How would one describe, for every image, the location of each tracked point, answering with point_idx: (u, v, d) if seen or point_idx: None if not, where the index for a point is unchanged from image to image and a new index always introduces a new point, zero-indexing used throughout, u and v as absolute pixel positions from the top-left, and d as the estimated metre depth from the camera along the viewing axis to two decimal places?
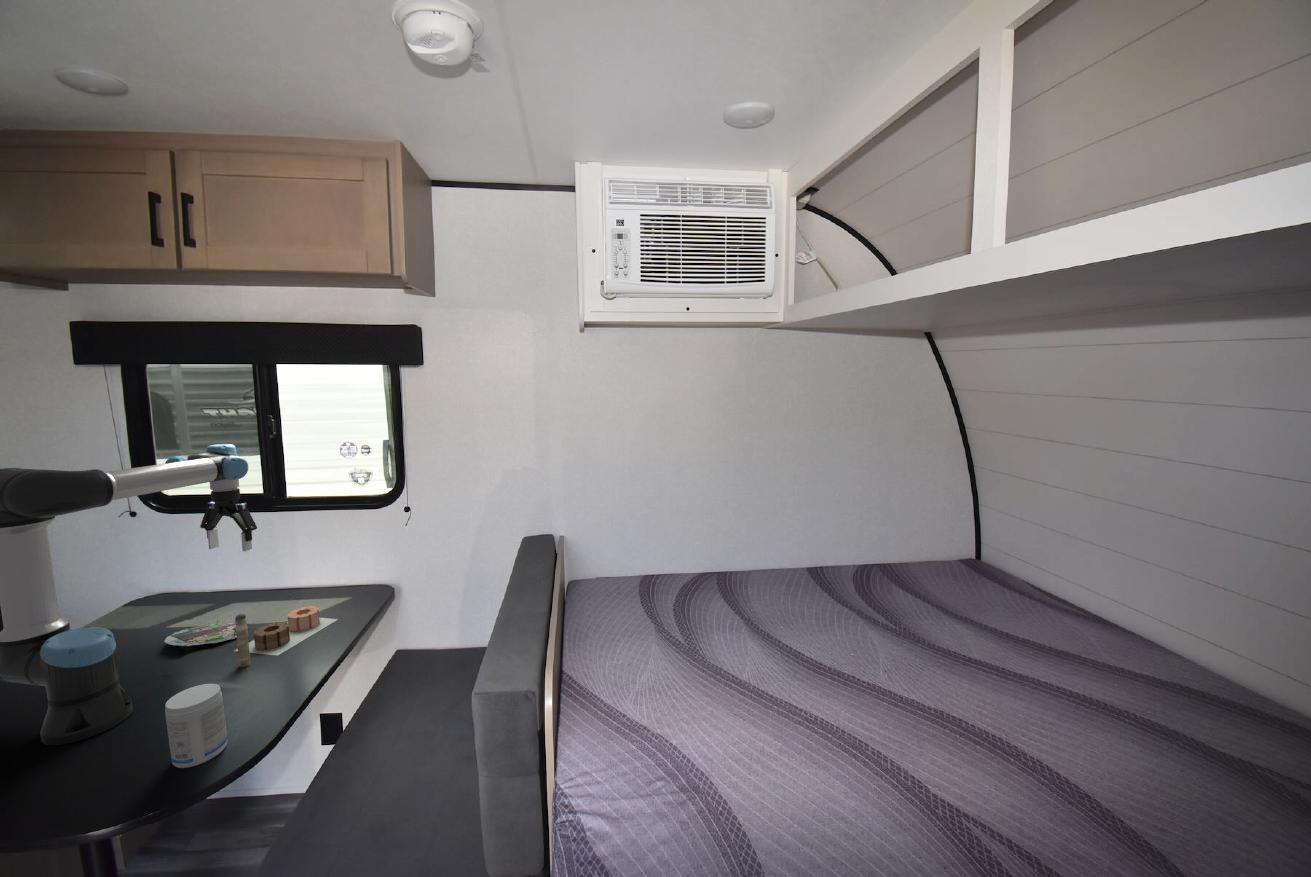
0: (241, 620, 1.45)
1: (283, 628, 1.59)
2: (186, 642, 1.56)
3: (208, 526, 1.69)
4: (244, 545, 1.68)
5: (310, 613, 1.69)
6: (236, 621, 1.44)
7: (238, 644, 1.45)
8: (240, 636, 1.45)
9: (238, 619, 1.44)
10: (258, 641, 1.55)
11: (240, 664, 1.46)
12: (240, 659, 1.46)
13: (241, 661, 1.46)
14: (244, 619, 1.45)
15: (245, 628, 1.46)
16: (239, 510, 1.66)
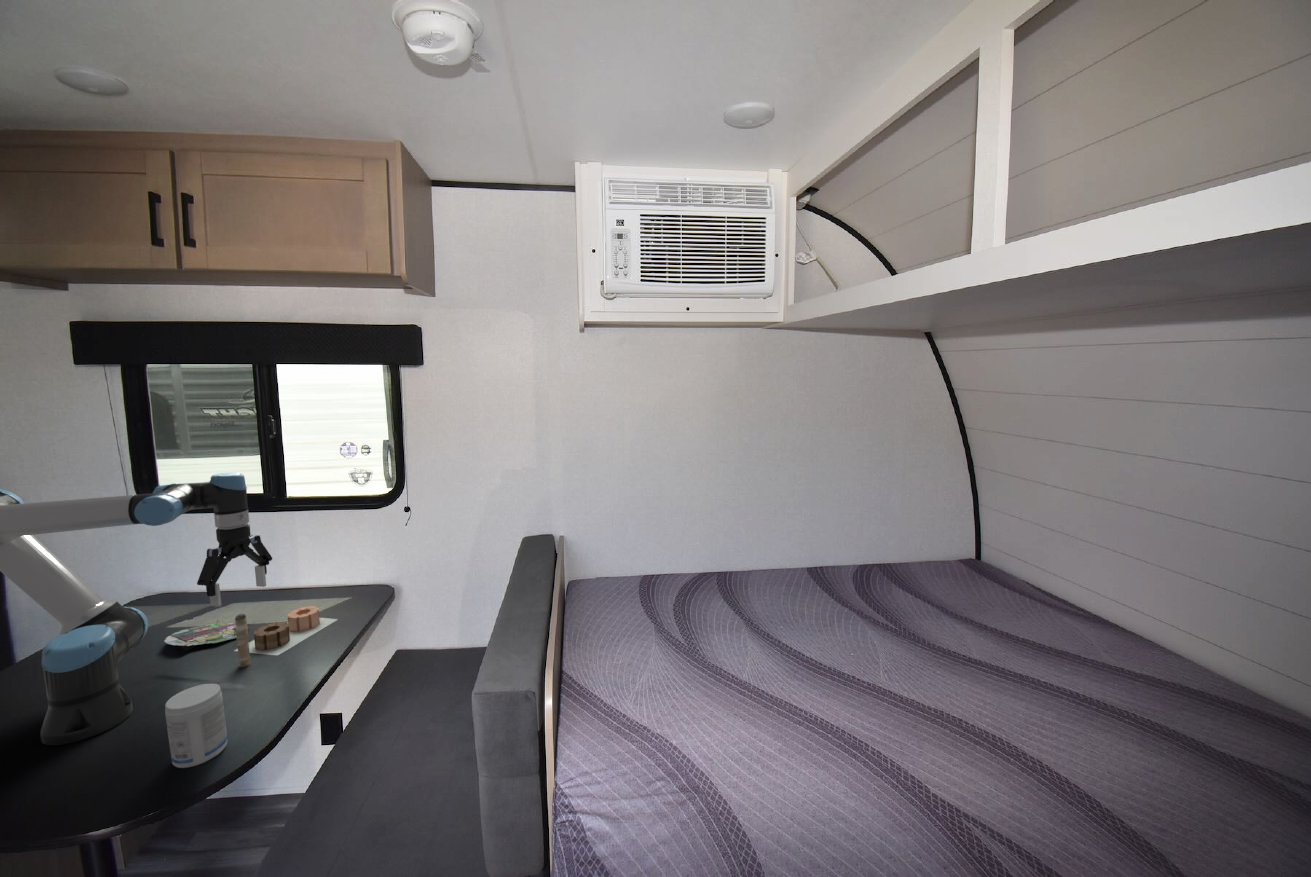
0: (241, 620, 1.45)
1: (283, 628, 1.59)
2: (186, 642, 1.56)
3: None
4: (210, 599, 1.38)
5: (310, 613, 1.69)
6: (236, 621, 1.44)
7: (238, 644, 1.45)
8: (240, 636, 1.45)
9: (238, 619, 1.44)
10: (258, 641, 1.55)
11: (240, 664, 1.46)
12: (240, 659, 1.46)
13: (241, 661, 1.46)
14: (244, 619, 1.45)
15: (245, 628, 1.46)
16: None
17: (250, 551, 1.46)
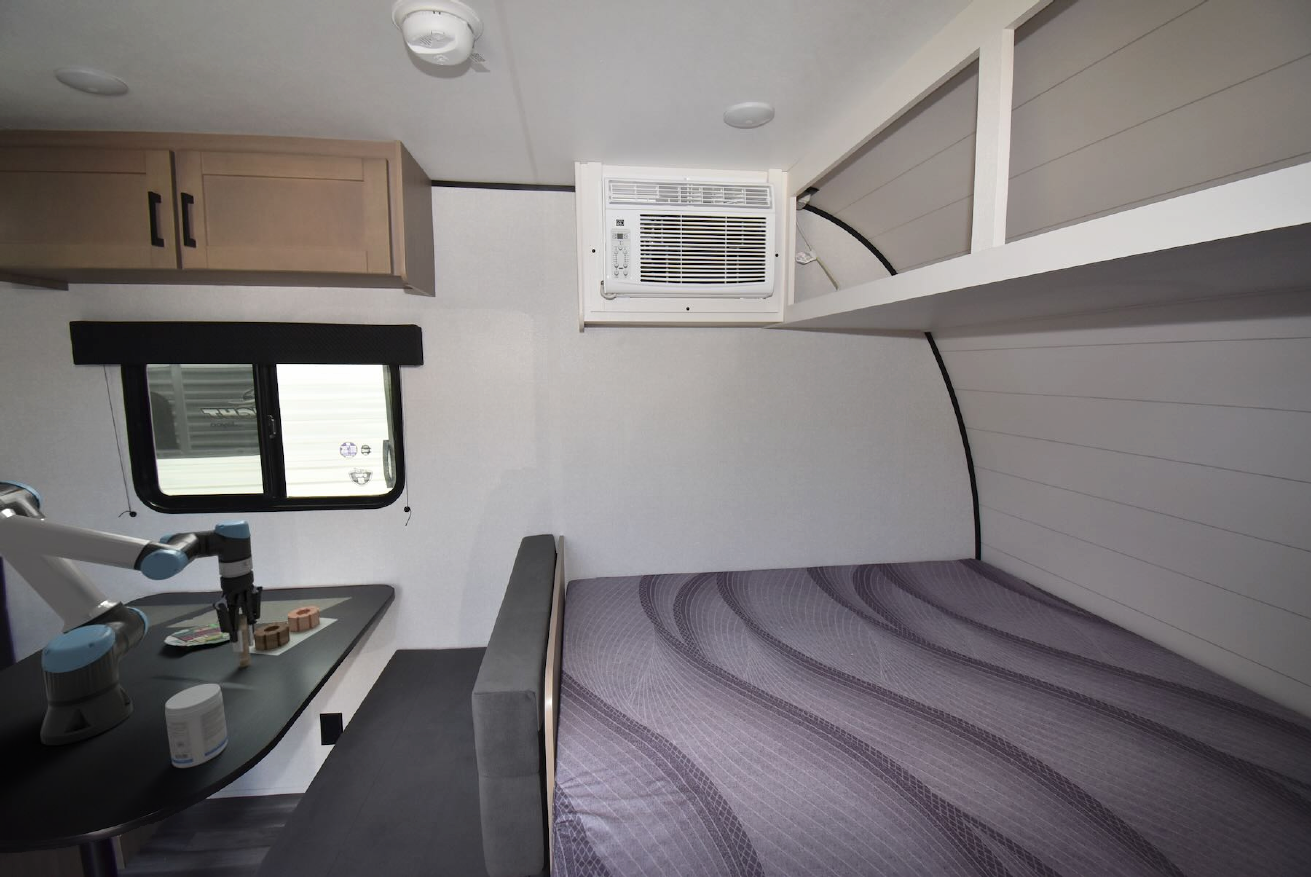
0: (241, 620, 1.45)
1: (283, 628, 1.59)
2: (186, 642, 1.56)
3: None
4: (233, 645, 1.45)
5: (310, 613, 1.69)
6: None
7: None
8: None
9: None
10: (258, 641, 1.55)
11: (240, 664, 1.46)
12: (240, 659, 1.46)
13: (241, 661, 1.46)
14: (244, 619, 1.45)
15: (245, 628, 1.46)
16: None
17: (249, 601, 1.46)
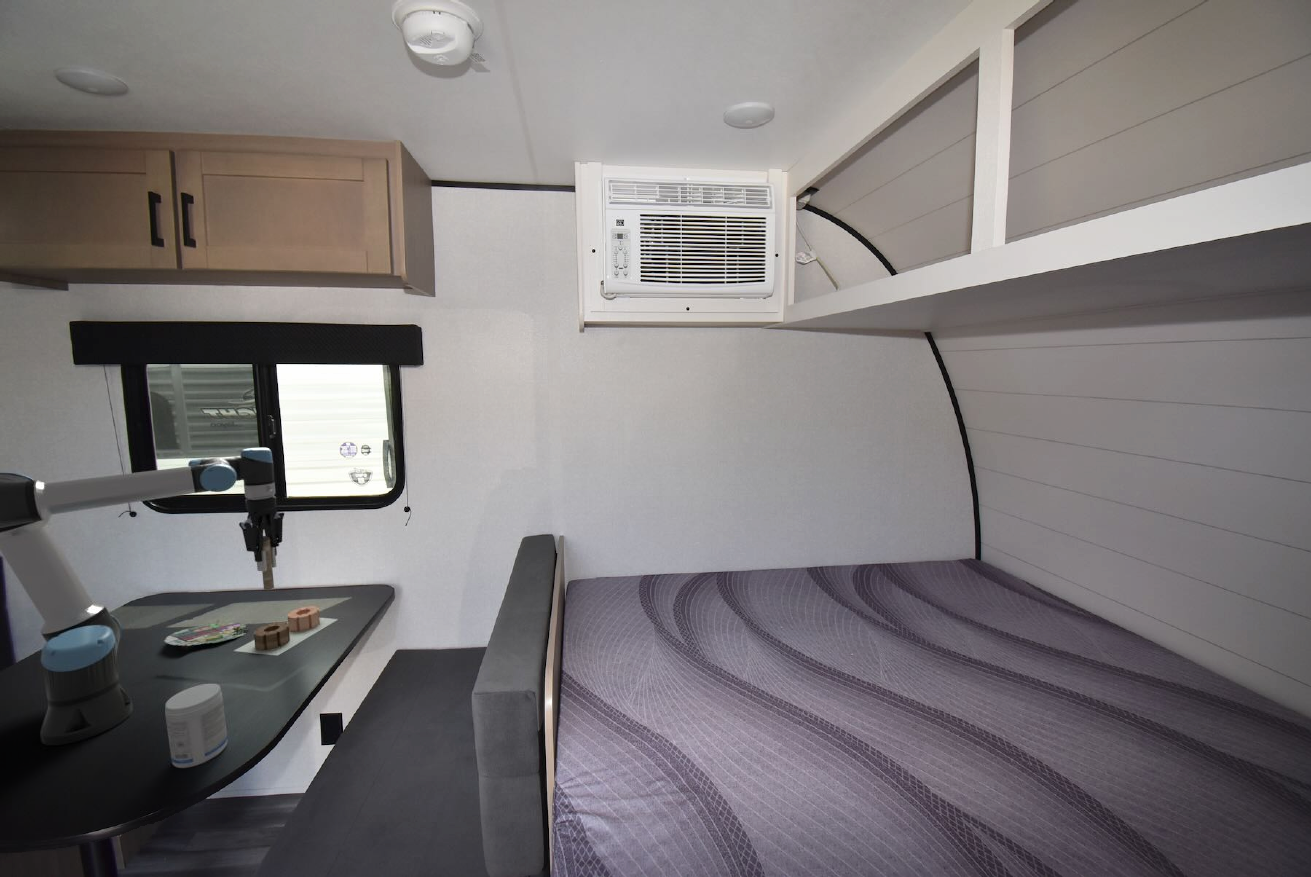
0: (265, 541, 1.55)
1: (283, 628, 1.59)
2: (186, 642, 1.56)
3: None
4: (257, 564, 1.54)
5: (310, 613, 1.69)
6: None
7: None
8: None
9: None
10: (258, 641, 1.55)
11: (264, 583, 1.56)
12: (264, 578, 1.56)
13: (265, 580, 1.56)
14: (268, 541, 1.55)
15: (269, 549, 1.56)
16: None
17: (272, 524, 1.56)
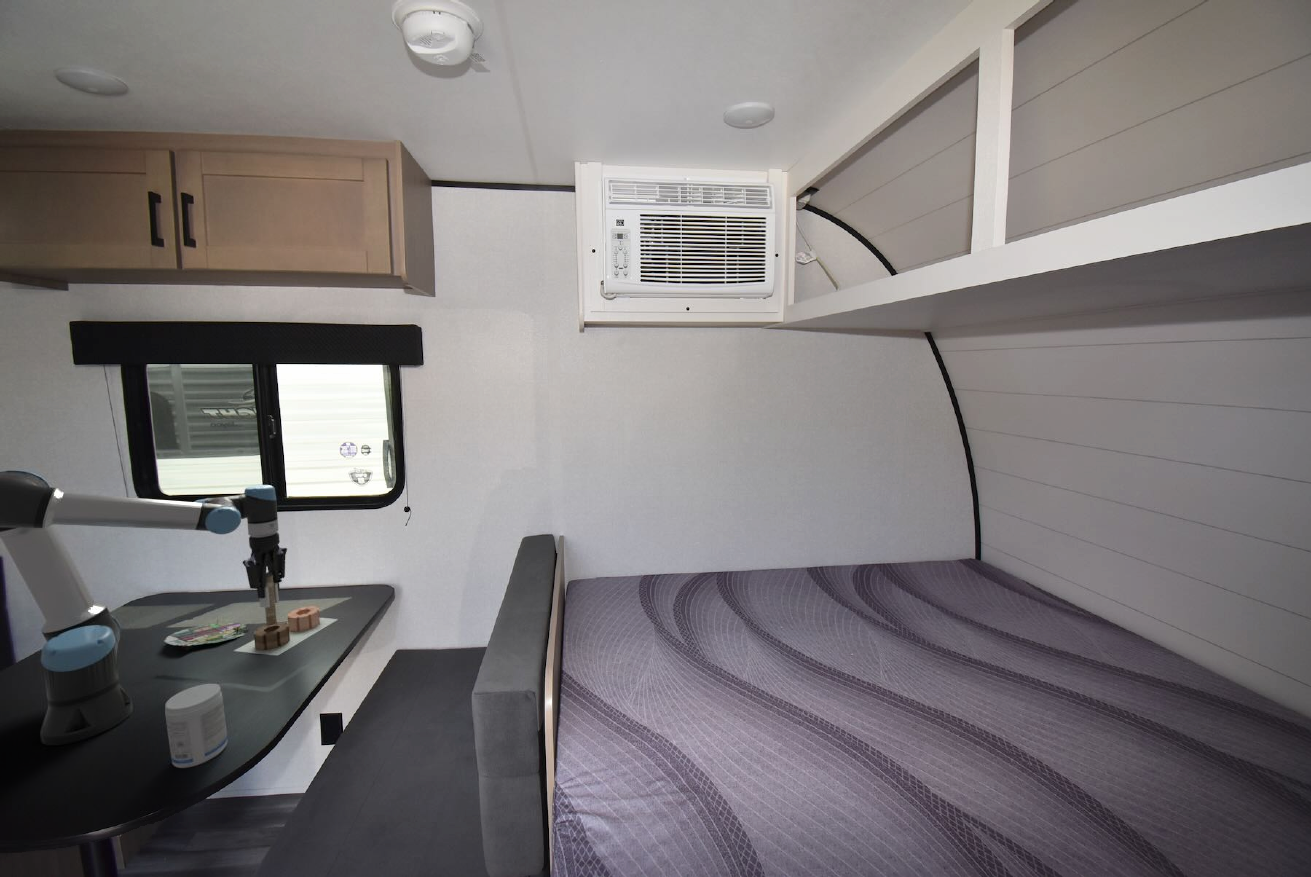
0: (268, 578, 1.56)
1: (283, 628, 1.59)
2: (186, 642, 1.56)
3: None
4: (260, 601, 1.56)
5: (310, 613, 1.69)
6: None
7: None
8: None
9: None
10: (258, 641, 1.55)
11: (267, 619, 1.57)
12: (267, 614, 1.57)
13: (268, 616, 1.57)
14: (271, 577, 1.57)
15: (272, 585, 1.57)
16: None
17: (275, 560, 1.58)
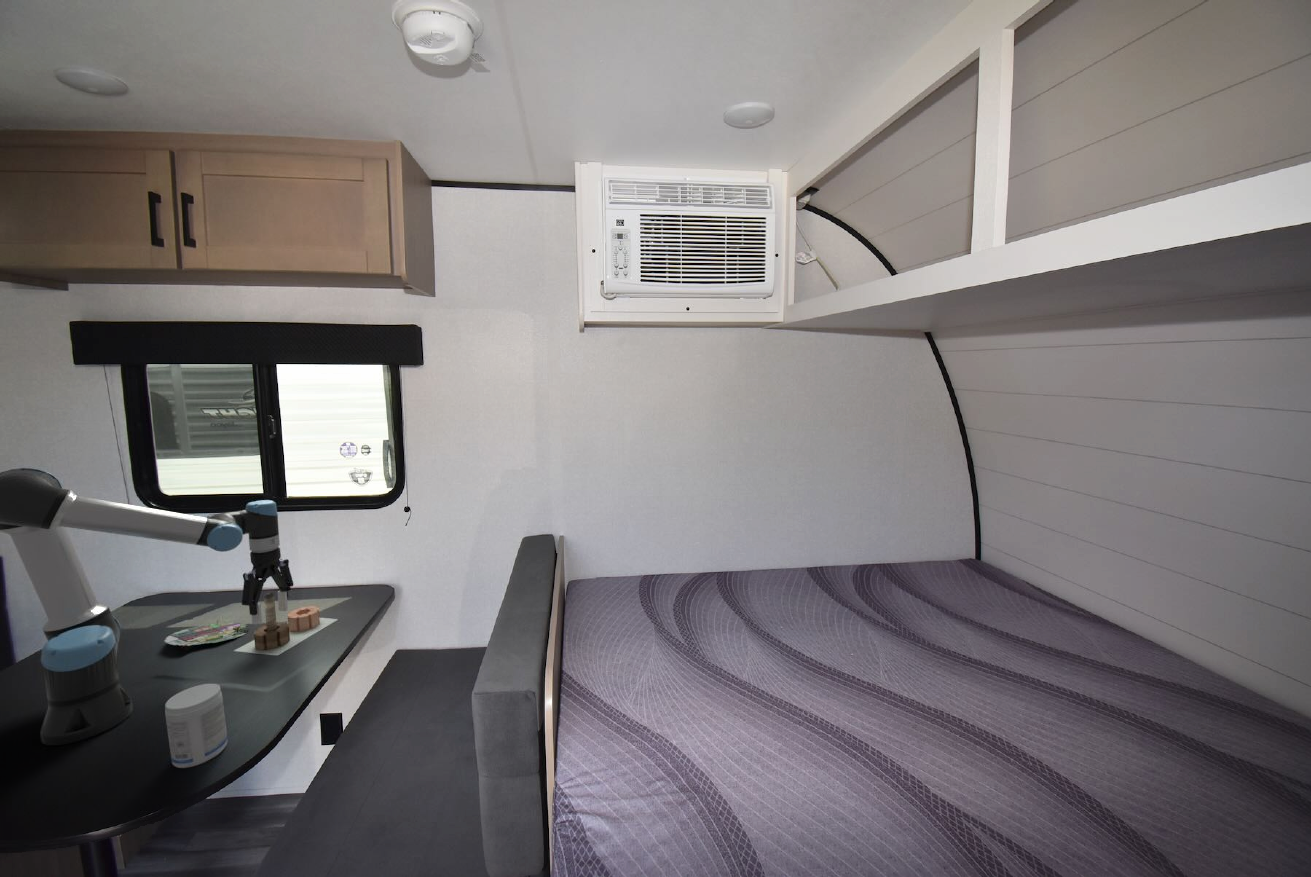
0: (269, 598, 1.57)
1: (283, 628, 1.59)
2: (186, 642, 1.56)
3: None
4: (252, 617, 1.53)
5: (310, 613, 1.69)
6: (265, 599, 1.56)
7: (267, 620, 1.57)
8: (269, 613, 1.57)
9: (267, 597, 1.56)
10: (258, 641, 1.55)
11: None
12: None
13: None
14: (272, 597, 1.57)
15: (273, 606, 1.58)
16: None
17: (278, 573, 1.59)
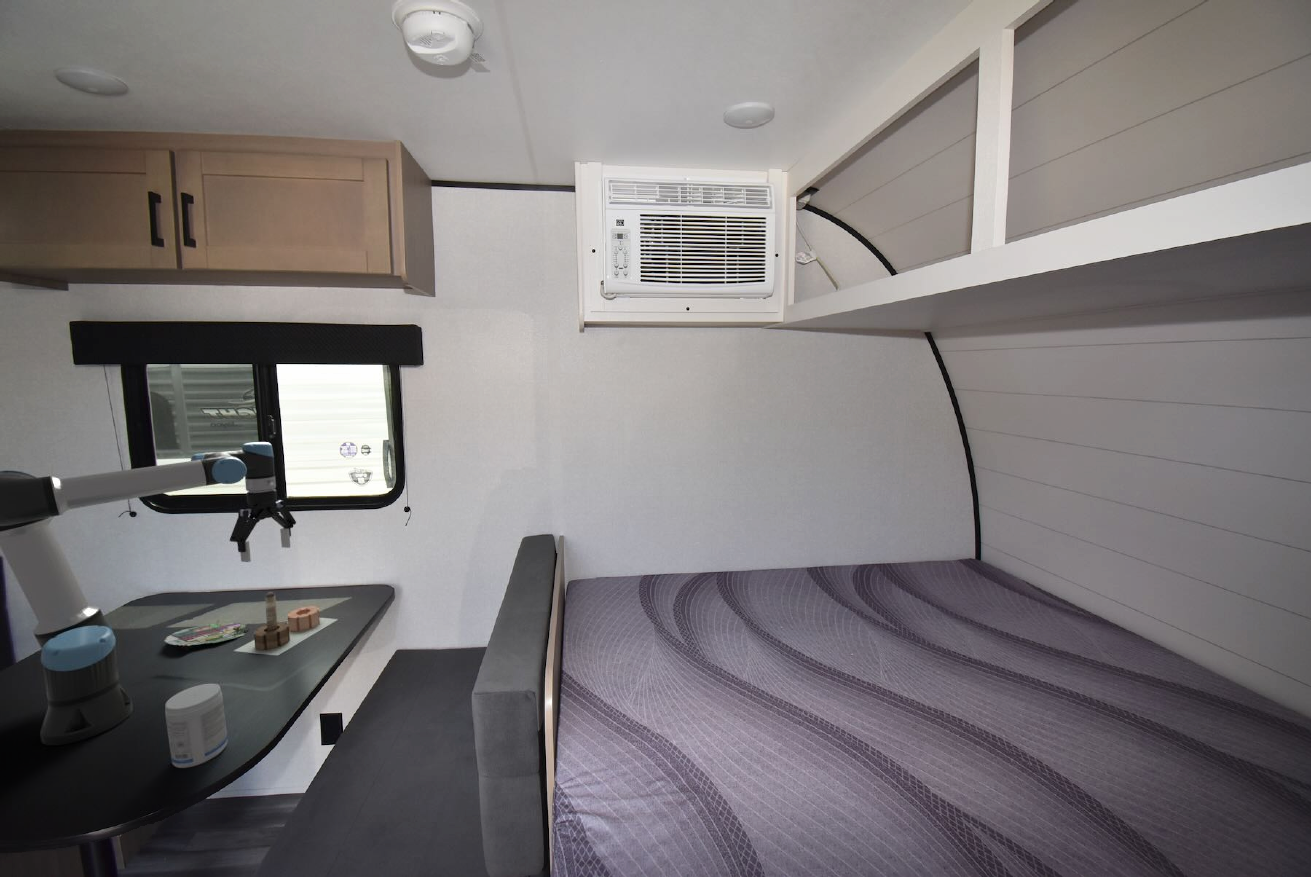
0: (270, 598, 1.57)
1: (283, 628, 1.59)
2: (186, 642, 1.56)
3: None
4: (241, 555, 1.52)
5: (310, 613, 1.69)
6: (266, 598, 1.57)
7: (267, 620, 1.57)
8: (269, 613, 1.57)
9: (268, 597, 1.57)
10: (258, 641, 1.55)
11: None
12: None
13: None
14: (273, 597, 1.58)
15: (274, 605, 1.58)
16: None
17: (276, 514, 1.61)
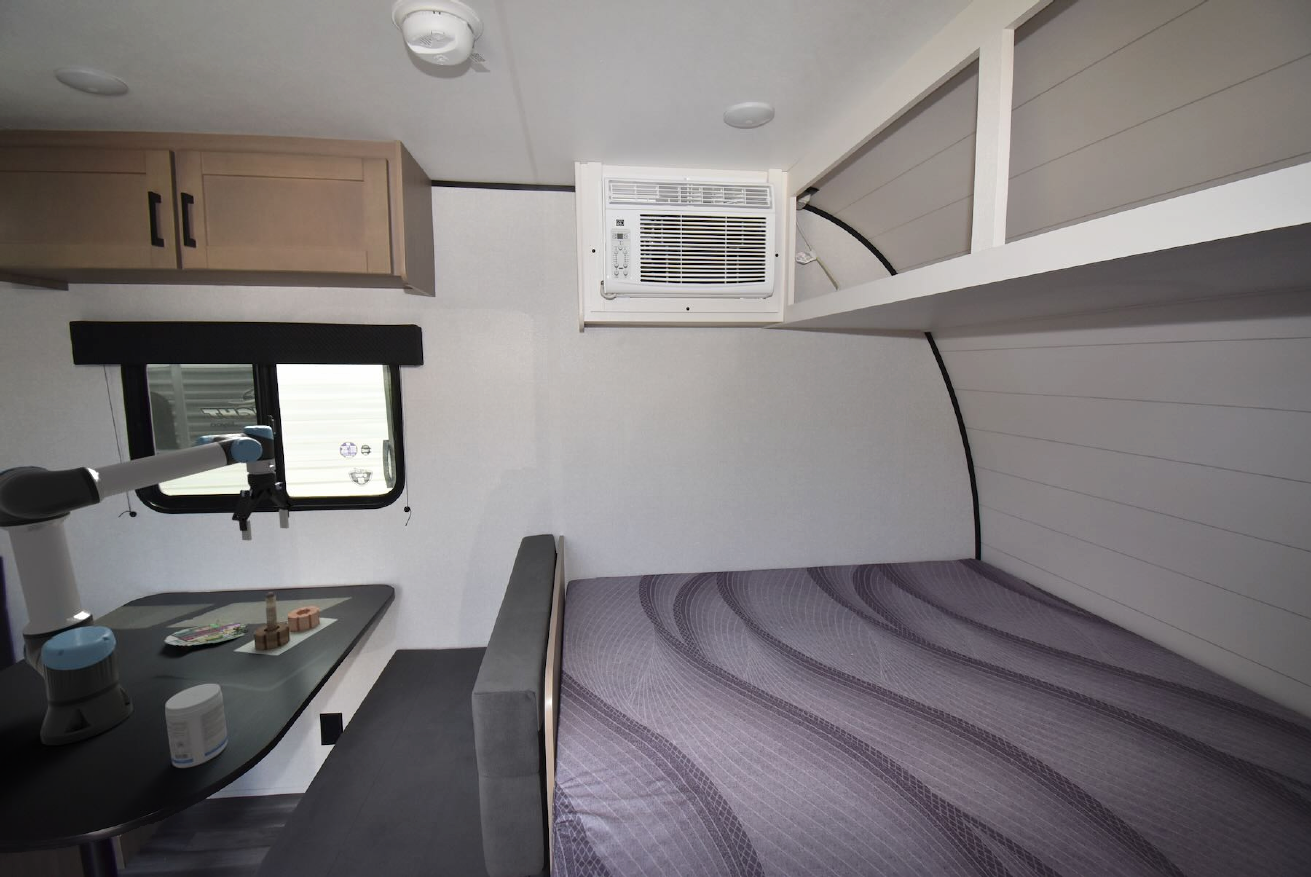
0: (271, 598, 1.57)
1: (283, 628, 1.59)
2: (186, 642, 1.56)
3: None
4: (242, 534, 1.59)
5: (310, 613, 1.69)
6: (266, 599, 1.57)
7: (267, 620, 1.57)
8: (269, 613, 1.57)
9: (268, 597, 1.57)
10: (258, 641, 1.55)
11: None
12: None
13: None
14: (273, 597, 1.58)
15: (274, 605, 1.58)
16: None
17: (276, 495, 1.67)
